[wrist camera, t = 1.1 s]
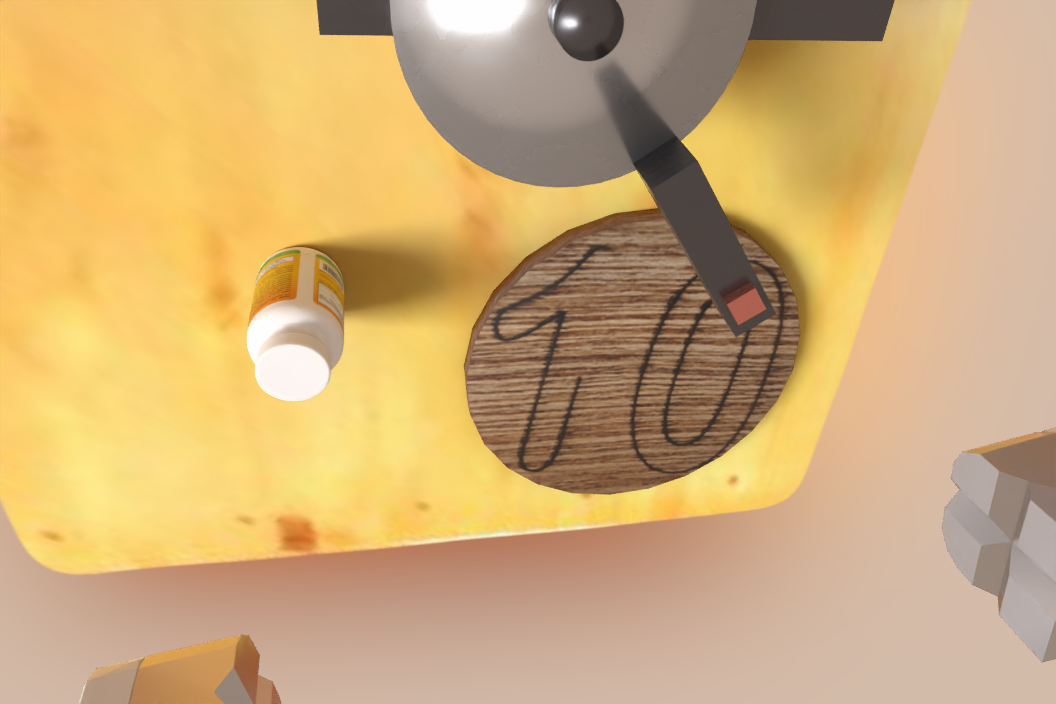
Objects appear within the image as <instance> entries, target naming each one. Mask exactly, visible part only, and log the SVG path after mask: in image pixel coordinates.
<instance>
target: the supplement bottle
mask: <svg viewBox="0 0 1056 704" xmlns="http://www.w3.org/2000/svg"><path fill="white" fill-rule="evenodd" d="M343 345H344V281H343V277H342V274H341V272H340V270H339V268H338V266H337V265H336V264H335V262H334V261H333V260H332V259H330V258H329V257H328V256H327V255H325V254H324V253H322V252H320V251H317V250H314V249H311V248H306V247H292V248H286V249H283V250H280V251H278V252H276V253H274V254H272V255H271V256H270V257H268V258H267V259H266V260H265V261H264V263H263V264H262V266H261V267H260V269H259V272H258V275H257V279H256V284H255V290H254V296H253V302H252V307H251V313H250V318H249V325H248V331H247V347H248V351H249V353H250V356H251V358H252V360H253V361H254V363H255V376H256V379H257V382H258V383H259V385H260V386H261V388H262V389H263V390H264V391H266V392H267V393H268V394H270V395H271V396H273V397H276V398H278V399H282V400H286V401H301V400H306V399H309V398H312V397H314V396H316V395H317V394H319V393H320V392H321V391H322V390H323V389H324V388H325V387H326V385H327V384H328V382H329V379H330V374H331V370H332V369H333V368H334V367H335V365H336V364H337V363H338V361H339V359H340V357H341V355H342V351H343Z"/></svg>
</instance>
